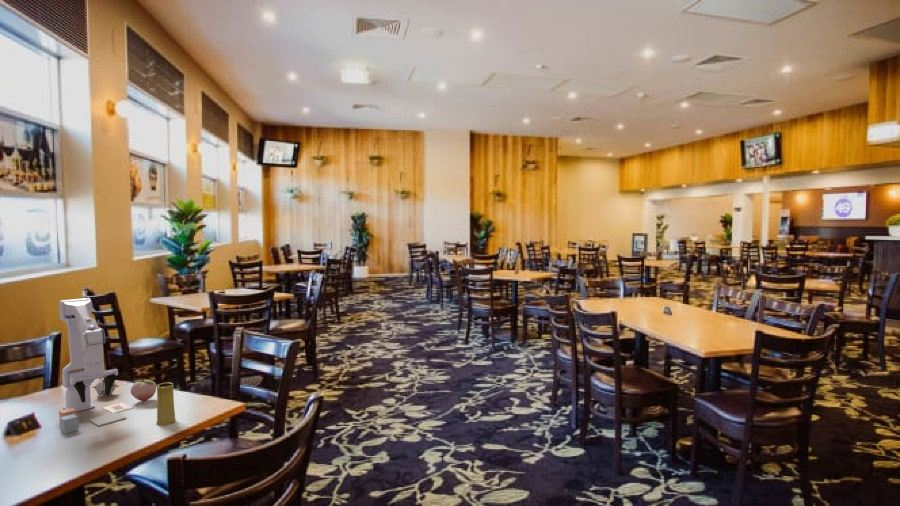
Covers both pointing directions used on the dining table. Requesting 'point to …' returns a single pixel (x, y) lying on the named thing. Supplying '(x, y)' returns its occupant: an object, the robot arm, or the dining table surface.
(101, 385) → the game die
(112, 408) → the card
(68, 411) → the brick terracotta
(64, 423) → the brick blue
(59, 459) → the dining table surface
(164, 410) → the vase
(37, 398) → the dining table surface
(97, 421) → the plate
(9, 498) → the dining table surface
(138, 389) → the decorative fruit
